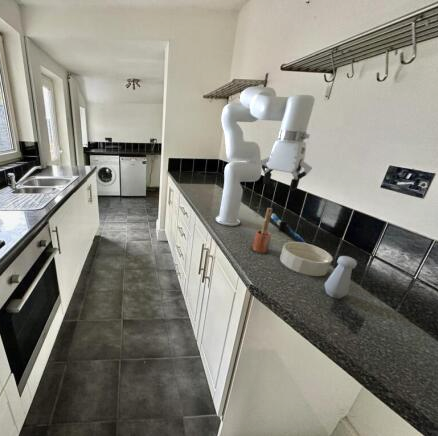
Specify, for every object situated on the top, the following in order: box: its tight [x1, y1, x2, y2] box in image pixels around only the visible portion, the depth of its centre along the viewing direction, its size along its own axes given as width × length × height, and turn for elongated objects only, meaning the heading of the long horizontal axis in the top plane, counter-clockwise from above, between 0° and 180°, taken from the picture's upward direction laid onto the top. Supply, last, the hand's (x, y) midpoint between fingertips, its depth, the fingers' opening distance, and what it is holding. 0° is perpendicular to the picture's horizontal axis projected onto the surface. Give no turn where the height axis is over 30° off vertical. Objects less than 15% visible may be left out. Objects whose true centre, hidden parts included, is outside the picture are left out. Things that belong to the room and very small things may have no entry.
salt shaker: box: [323, 255, 358, 300], centre depth 70 cm, size 6×6×13 cm
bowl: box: [279, 241, 334, 277], centre depth 86 cm, size 15×15×6 cm
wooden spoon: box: [261, 207, 273, 236], centre depth 93 cm, size 3×2×18 cm, turn 33°
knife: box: [270, 211, 306, 243], centre depth 113 cm, size 31×3×4 cm, turn 178°
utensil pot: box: [252, 229, 272, 253], centre depth 95 cm, size 5×6×8 cm
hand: (278, 186), depth 84 cm, fingers open, 9 cm apart
